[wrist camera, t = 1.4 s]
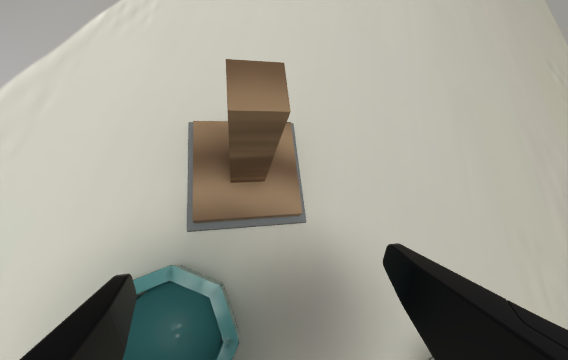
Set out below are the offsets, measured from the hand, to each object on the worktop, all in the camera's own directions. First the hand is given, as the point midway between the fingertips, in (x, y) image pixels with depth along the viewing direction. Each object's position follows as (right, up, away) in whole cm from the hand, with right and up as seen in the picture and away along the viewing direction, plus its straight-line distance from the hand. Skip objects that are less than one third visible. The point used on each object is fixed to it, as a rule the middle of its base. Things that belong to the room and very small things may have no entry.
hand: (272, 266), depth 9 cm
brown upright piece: (-3, +4, +15) cm, 16 cm away
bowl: (-8, -8, +10) cm, 15 cm away
